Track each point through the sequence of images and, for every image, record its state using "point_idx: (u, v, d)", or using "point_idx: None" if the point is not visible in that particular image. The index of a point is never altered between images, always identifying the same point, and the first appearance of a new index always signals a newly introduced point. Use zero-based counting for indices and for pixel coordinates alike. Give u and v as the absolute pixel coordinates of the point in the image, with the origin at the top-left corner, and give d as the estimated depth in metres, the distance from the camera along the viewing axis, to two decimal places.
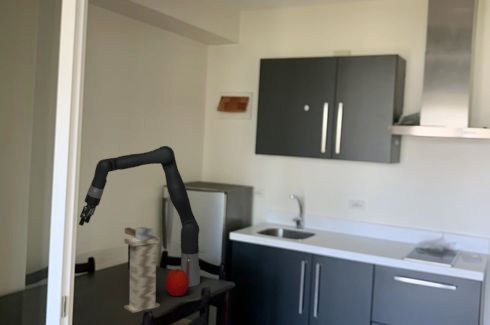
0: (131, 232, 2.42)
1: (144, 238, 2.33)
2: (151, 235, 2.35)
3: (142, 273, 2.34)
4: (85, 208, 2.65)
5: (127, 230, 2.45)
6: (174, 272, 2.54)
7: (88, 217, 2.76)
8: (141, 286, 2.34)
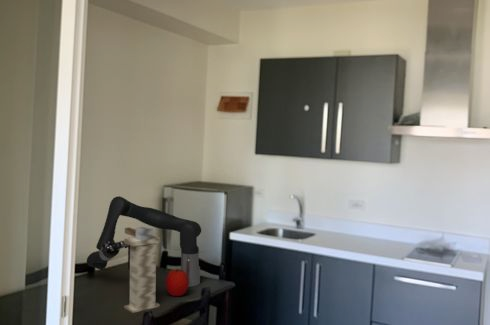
0: (131, 232, 2.42)
1: (144, 238, 2.33)
2: (151, 235, 2.35)
3: (142, 273, 2.34)
4: (101, 248, 2.54)
5: (127, 230, 2.45)
6: (174, 272, 2.54)
7: None
8: (141, 286, 2.34)
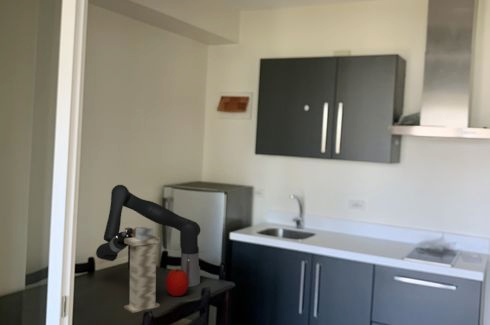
0: None
1: (144, 238, 2.33)
2: (151, 235, 2.35)
3: (142, 273, 2.34)
4: (114, 237, 2.44)
5: (127, 230, 2.45)
6: (174, 272, 2.54)
7: None
8: (141, 286, 2.34)
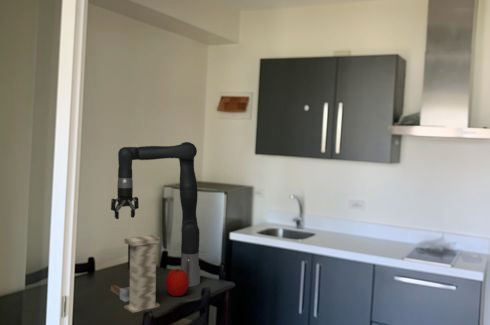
0: (116, 291, 2.56)
1: (127, 299, 2.46)
2: None
3: (142, 273, 2.34)
4: (112, 200, 2.59)
5: (113, 288, 2.59)
6: (174, 272, 2.54)
7: (132, 211, 2.67)
8: (141, 286, 2.34)
